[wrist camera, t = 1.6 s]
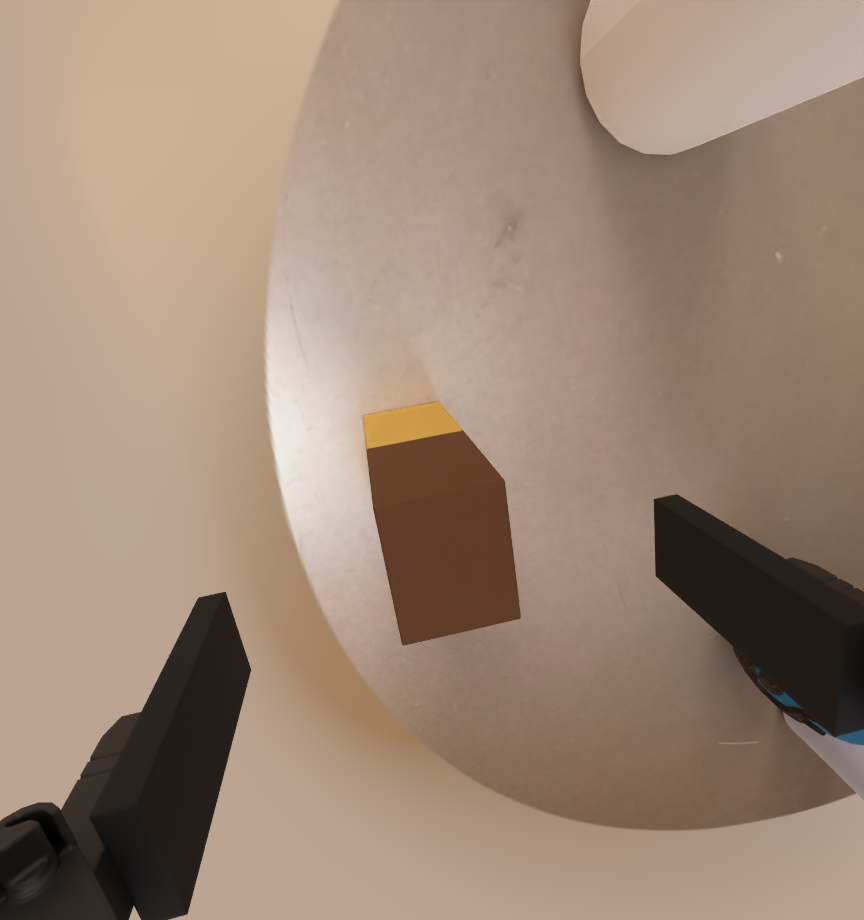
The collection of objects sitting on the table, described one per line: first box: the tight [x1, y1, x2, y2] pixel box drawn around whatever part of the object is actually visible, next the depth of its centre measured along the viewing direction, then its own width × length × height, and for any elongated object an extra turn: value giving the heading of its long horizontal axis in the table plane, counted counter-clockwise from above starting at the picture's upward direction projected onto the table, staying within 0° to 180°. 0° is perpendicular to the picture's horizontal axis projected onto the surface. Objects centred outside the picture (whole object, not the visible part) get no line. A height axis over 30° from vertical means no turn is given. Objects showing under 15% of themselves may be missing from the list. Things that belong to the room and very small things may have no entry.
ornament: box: [733, 646, 864, 745], centre depth 30 cm, size 8×5×10 cm, turn 27°
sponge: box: [363, 401, 521, 645], centre depth 22 cm, size 4×5×12 cm
